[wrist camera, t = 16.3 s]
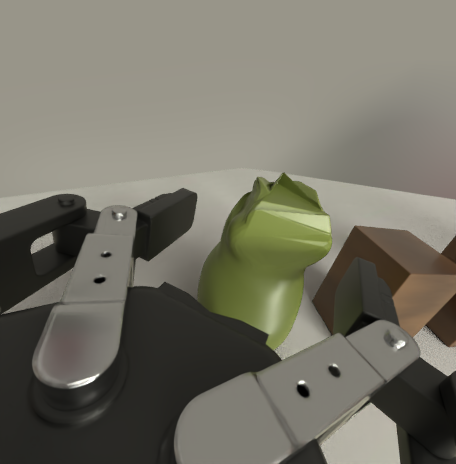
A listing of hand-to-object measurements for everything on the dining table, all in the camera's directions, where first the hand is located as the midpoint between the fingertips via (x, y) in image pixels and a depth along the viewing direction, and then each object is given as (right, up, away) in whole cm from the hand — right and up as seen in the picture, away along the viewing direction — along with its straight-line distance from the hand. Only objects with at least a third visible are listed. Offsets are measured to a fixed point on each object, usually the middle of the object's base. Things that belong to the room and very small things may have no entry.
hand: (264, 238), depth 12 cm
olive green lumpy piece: (-1, -6, +3) cm, 7 cm away
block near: (+7, -6, +6) cm, 12 cm away
